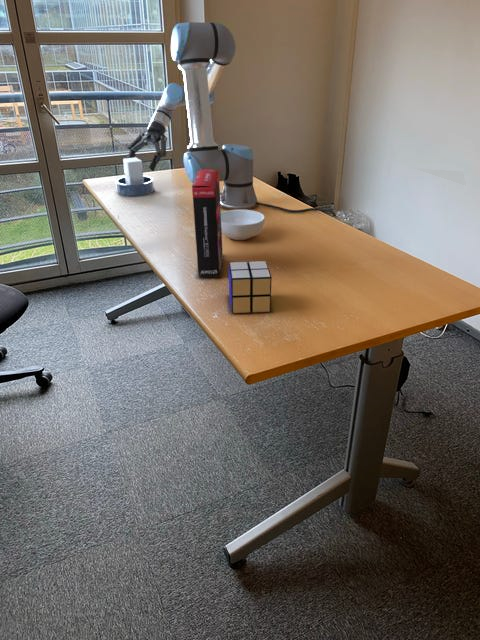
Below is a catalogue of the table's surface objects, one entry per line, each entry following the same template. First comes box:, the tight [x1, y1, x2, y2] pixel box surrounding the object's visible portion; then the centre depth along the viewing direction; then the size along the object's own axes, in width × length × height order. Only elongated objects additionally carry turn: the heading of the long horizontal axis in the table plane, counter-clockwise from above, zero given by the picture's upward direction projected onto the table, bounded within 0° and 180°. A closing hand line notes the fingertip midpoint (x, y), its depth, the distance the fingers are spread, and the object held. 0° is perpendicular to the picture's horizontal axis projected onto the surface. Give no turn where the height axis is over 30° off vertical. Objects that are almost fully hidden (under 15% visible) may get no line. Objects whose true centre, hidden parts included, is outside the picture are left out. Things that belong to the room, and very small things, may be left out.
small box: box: [122, 156, 144, 185], centre depth 218 cm, size 8×6×13 cm
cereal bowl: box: [221, 209, 266, 241], centre depth 173 cm, size 17×17×7 cm
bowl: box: [115, 175, 155, 197], centre depth 220 cm, size 16×16×5 cm
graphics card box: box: [191, 170, 224, 279], centre depth 146 cm, size 17×7×27 cm, turn 179°
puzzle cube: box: [228, 260, 273, 315], centre depth 130 cm, size 10×10×10 cm
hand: (139, 167), depth 219 cm, fingers open, 13 cm apart
